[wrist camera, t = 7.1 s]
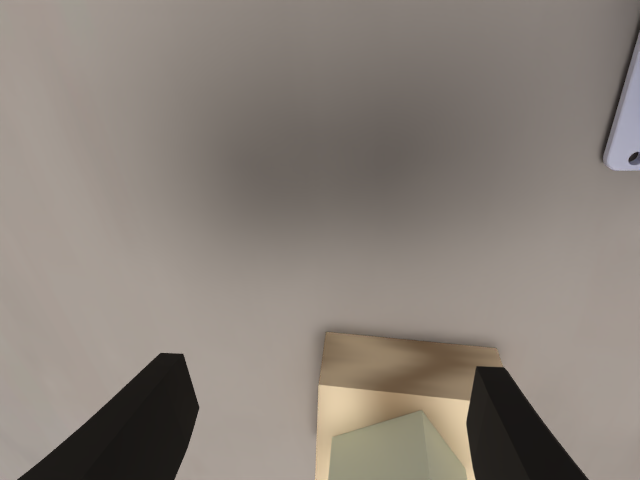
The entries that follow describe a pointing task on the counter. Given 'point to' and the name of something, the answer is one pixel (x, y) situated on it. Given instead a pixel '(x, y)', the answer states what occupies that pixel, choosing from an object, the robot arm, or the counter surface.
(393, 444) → the sage block
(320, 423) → the maple slab
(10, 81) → the counter surface
